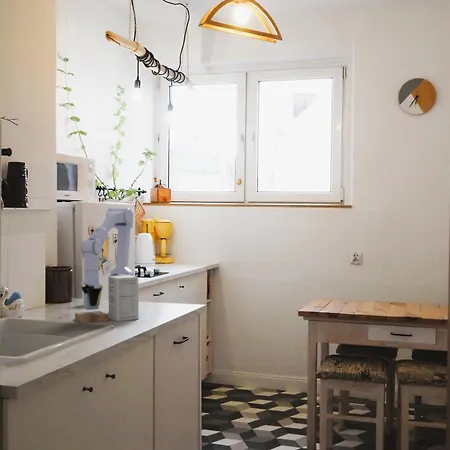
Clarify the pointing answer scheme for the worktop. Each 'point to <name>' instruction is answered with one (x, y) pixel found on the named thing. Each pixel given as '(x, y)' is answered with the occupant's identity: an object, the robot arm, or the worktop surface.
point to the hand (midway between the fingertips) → (91, 305)
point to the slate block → (87, 303)
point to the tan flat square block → (91, 317)
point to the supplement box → (123, 297)
